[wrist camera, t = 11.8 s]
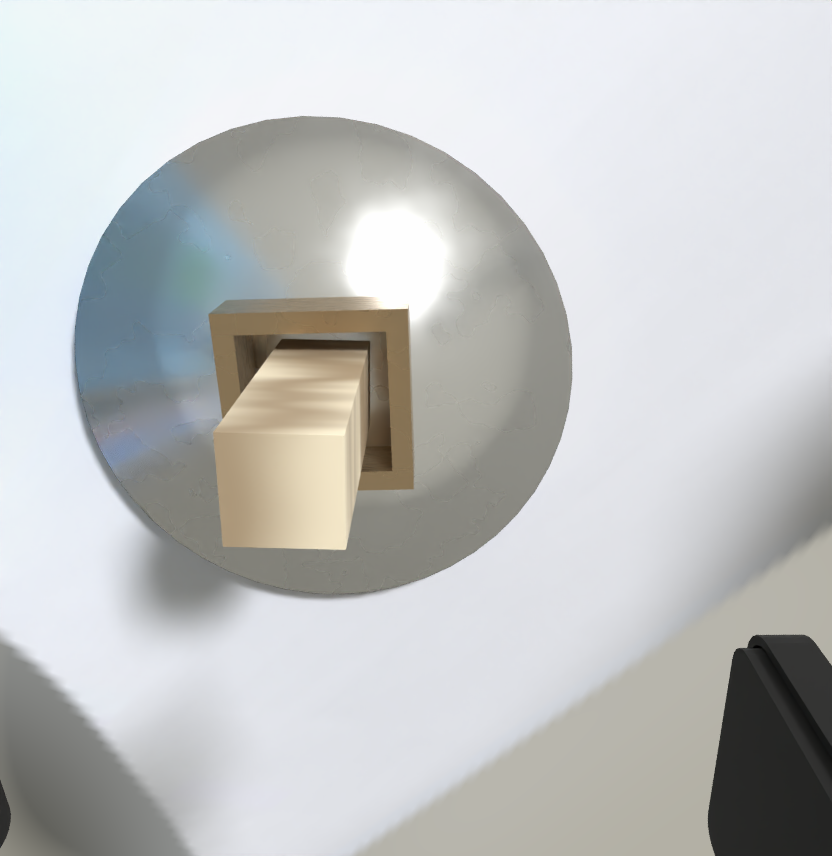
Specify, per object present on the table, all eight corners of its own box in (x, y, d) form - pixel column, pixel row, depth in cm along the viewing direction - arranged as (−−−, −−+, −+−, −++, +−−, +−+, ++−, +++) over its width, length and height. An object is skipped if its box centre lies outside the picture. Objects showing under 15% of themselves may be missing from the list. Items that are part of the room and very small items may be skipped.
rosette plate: (580, 108, 26) (603, 103, 23) (557, 577, 34) (571, 623, 30) (37, 125, 27) (-16, 123, 23) (131, 585, 34) (100, 632, 31)
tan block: (370, 340, 29) (344, 435, 19) (370, 423, 30) (346, 549, 20) (281, 338, 29) (213, 432, 19) (285, 421, 30) (222, 546, 20)
